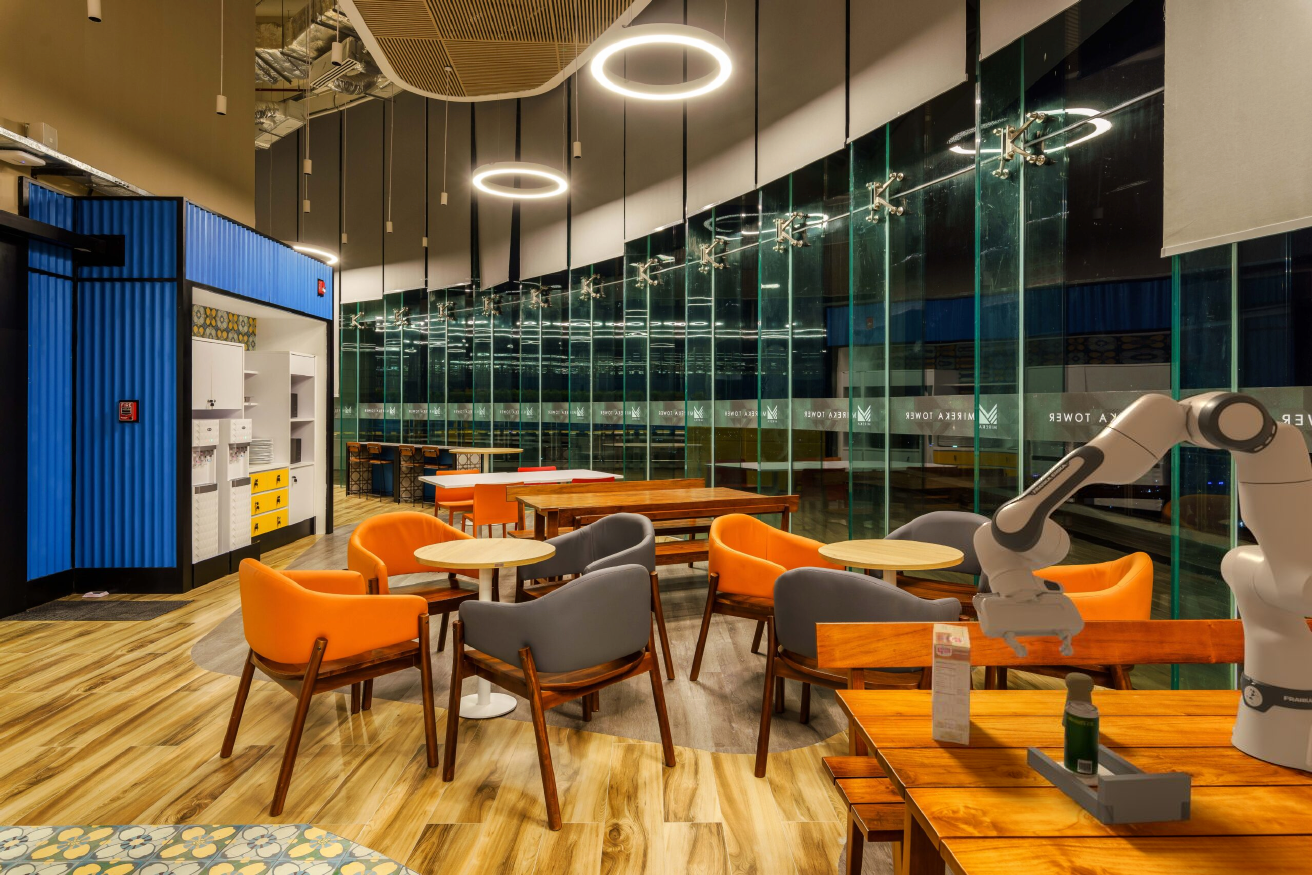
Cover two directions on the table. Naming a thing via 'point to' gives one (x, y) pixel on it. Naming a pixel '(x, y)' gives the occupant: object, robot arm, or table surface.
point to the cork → (1078, 689)
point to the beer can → (1081, 739)
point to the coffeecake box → (951, 684)
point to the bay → (1120, 789)
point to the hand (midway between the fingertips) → (1045, 655)
